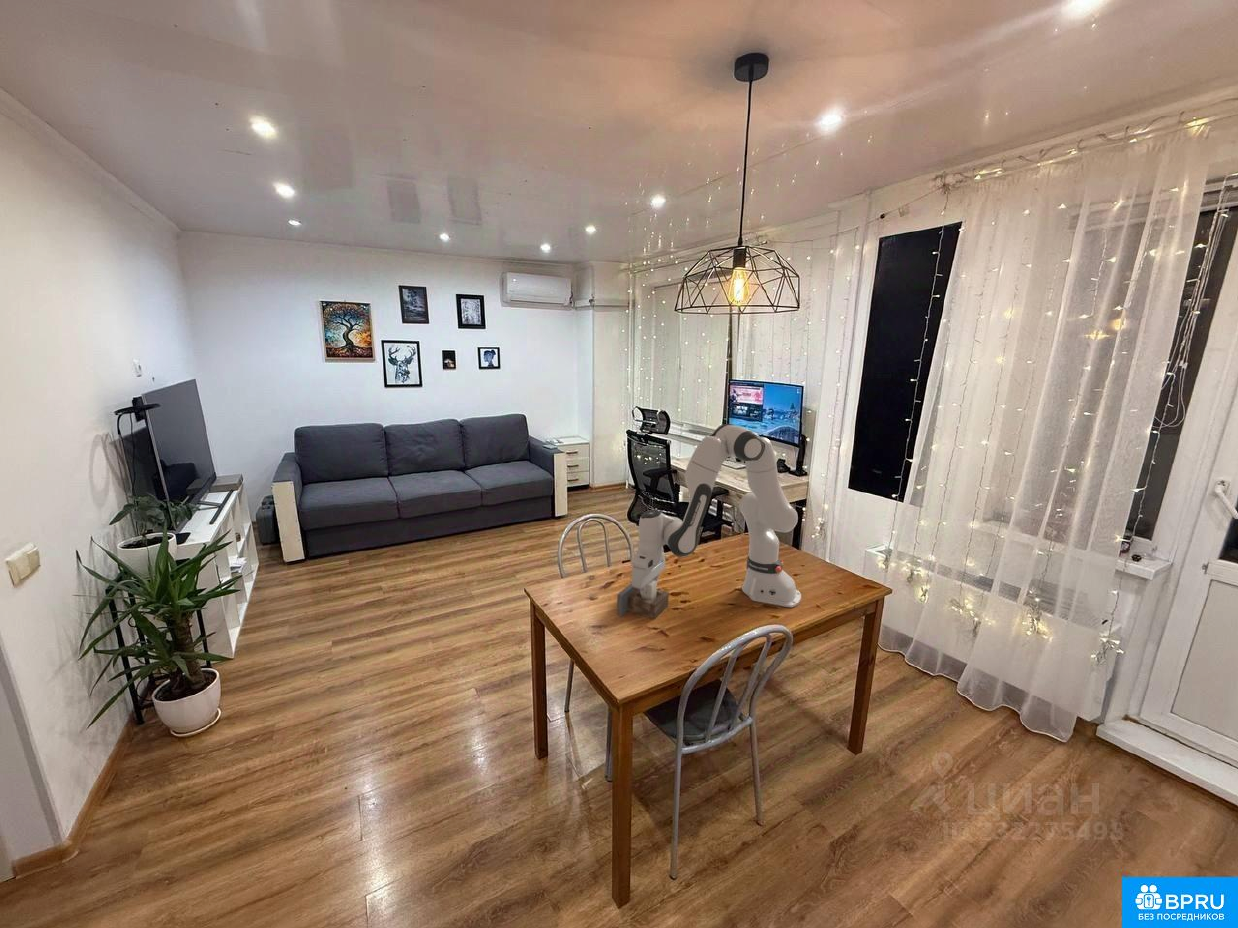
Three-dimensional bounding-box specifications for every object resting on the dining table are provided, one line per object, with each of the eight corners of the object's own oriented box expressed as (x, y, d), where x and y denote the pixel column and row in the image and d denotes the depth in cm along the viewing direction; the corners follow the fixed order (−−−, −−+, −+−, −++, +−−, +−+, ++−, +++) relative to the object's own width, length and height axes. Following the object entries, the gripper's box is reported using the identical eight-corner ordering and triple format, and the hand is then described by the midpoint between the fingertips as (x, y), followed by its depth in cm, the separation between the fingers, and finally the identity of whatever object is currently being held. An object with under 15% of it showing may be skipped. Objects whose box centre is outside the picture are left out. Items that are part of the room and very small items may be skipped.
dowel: (646, 602, 186) (647, 578, 183) (656, 605, 184) (656, 581, 181) (641, 607, 182) (642, 582, 180) (651, 610, 180) (651, 585, 178)
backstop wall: (647, 592, 194) (648, 574, 192) (621, 615, 178) (622, 595, 176) (643, 591, 195) (643, 572, 193) (617, 614, 179) (617, 594, 177)
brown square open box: (668, 606, 185) (668, 592, 183) (654, 620, 176) (655, 605, 174) (642, 598, 190) (642, 584, 189) (627, 611, 181) (628, 596, 180)
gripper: (655, 543, 188) (654, 576, 192) (628, 562, 171) (627, 598, 175) (670, 546, 185) (669, 580, 188) (644, 567, 168) (643, 603, 171)
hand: (648, 589), depth 181 cm, fingers open, 7 cm apart
